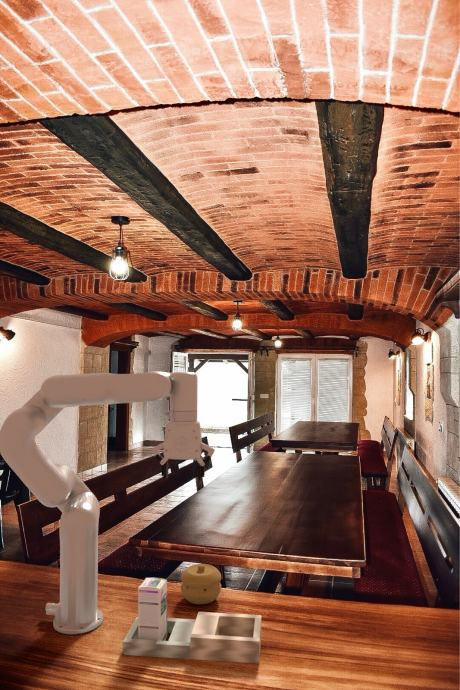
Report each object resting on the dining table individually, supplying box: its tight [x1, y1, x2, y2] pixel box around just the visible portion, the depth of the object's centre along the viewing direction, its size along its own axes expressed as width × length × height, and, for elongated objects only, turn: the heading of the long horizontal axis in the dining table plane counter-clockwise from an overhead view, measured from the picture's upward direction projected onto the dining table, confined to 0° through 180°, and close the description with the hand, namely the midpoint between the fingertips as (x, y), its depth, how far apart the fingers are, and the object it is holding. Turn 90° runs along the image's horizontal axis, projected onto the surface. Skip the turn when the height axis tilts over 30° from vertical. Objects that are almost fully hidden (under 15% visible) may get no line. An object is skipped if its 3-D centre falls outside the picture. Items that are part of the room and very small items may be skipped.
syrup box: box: [137, 577, 168, 641], centre depth 127 cm, size 6×6×14 cm
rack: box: [122, 611, 262, 665], centre depth 125 cm, size 32×12×5 cm, turn 84°
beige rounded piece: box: [180, 563, 222, 605], centre depth 149 cm, size 12×12×10 cm
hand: (183, 479), depth 142 cm, fingers open, 9 cm apart
